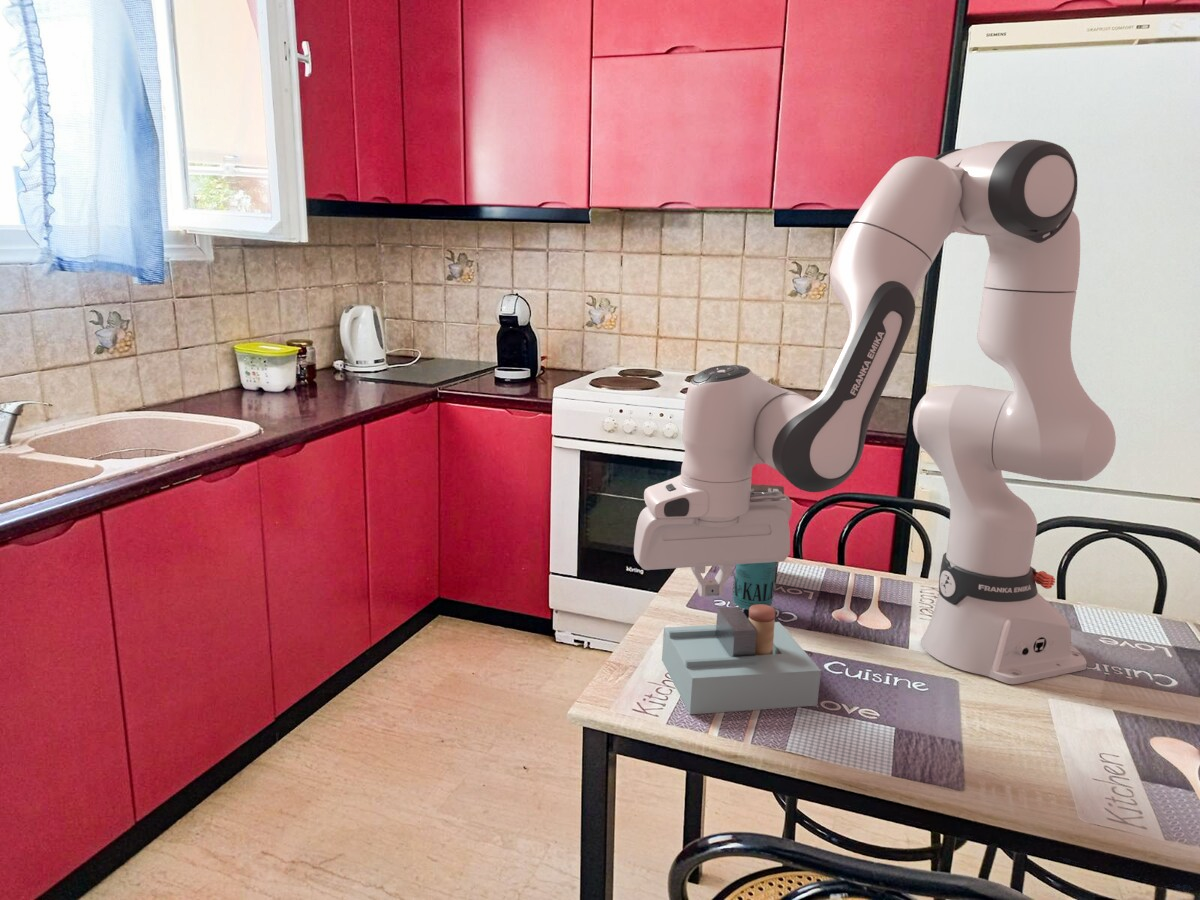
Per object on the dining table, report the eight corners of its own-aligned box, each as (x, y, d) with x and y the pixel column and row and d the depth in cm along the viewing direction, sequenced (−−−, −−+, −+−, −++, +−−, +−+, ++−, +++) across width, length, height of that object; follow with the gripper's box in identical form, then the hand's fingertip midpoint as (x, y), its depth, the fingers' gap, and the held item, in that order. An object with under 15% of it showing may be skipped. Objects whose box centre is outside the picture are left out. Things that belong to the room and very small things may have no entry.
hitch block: (775, 653, 122) (779, 616, 121) (817, 705, 109) (821, 664, 107) (661, 660, 119) (664, 622, 118) (689, 714, 106) (692, 672, 104)
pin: (767, 671, 116) (771, 604, 113) (773, 684, 113) (778, 615, 110) (742, 672, 116) (746, 604, 113) (748, 684, 112) (752, 615, 110)
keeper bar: (736, 633, 116) (738, 606, 115) (754, 658, 109) (757, 629, 108) (715, 634, 116) (717, 607, 115) (732, 659, 109) (734, 631, 108)
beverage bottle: (742, 599, 140) (752, 483, 135) (779, 610, 136) (790, 492, 132) (723, 612, 135) (733, 492, 130) (761, 624, 131) (773, 501, 126)
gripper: (783, 483, 112) (776, 579, 116) (632, 489, 108) (630, 589, 112) (802, 498, 106) (794, 599, 110) (643, 506, 102) (640, 610, 106)
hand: (710, 594), depth 111 cm, fingers closed
